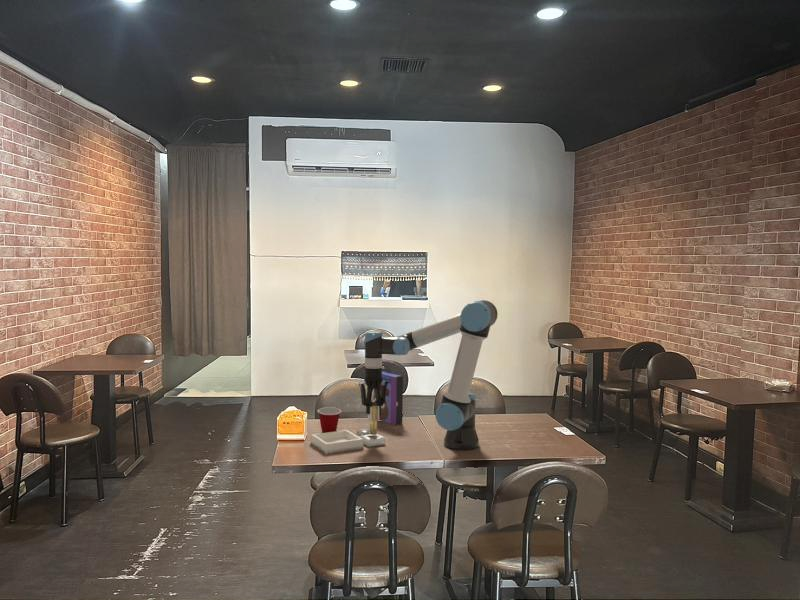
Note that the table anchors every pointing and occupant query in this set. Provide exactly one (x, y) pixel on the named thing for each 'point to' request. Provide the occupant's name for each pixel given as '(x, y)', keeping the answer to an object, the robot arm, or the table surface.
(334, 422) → the plastic cup
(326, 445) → the tray
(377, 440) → the bracket
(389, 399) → the cereal box
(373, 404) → the lock pin
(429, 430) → the table surface
